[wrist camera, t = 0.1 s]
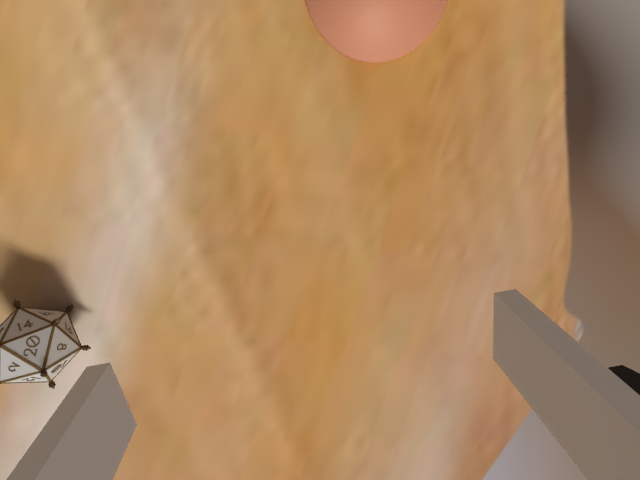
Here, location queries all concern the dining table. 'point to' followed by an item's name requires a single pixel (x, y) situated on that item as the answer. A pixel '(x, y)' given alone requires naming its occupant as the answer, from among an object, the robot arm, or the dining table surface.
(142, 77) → the dining table surface
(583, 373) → the robot arm
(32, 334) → the game die
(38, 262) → the dining table surface
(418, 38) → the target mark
